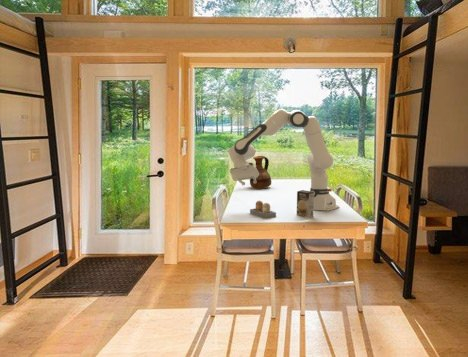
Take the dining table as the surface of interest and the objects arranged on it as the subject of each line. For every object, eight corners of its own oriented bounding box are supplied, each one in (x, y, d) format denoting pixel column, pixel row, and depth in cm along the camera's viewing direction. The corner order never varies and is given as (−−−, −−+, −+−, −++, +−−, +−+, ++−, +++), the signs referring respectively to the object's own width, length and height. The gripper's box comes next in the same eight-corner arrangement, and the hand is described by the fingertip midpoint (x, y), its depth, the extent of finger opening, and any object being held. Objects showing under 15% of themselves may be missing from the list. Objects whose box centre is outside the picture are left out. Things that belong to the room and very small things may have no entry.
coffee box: (295, 216, 230) (296, 191, 228) (301, 214, 235) (302, 189, 232) (308, 218, 224) (308, 193, 222) (313, 216, 228) (314, 191, 226)
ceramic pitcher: (245, 187, 338) (245, 155, 334) (260, 185, 351) (261, 154, 347) (260, 190, 323) (260, 157, 319) (275, 188, 336) (276, 155, 332)
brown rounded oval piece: (260, 212, 237) (260, 199, 236) (264, 213, 233) (264, 200, 232) (254, 213, 234) (254, 200, 233) (258, 214, 230) (258, 201, 229)
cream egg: (267, 214, 230) (267, 201, 229) (271, 216, 226) (271, 203, 225) (260, 215, 228) (261, 202, 227) (265, 217, 224) (265, 204, 223)
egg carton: (260, 212, 239) (260, 207, 239) (275, 217, 226) (275, 212, 225) (250, 214, 235) (250, 209, 234) (264, 219, 221) (265, 214, 221)
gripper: (230, 166, 240) (238, 183, 234) (255, 162, 251) (263, 179, 245) (227, 171, 245) (234, 188, 239) (251, 167, 256) (259, 184, 250)
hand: (249, 183), depth 242 cm, fingers open, 8 cm apart
